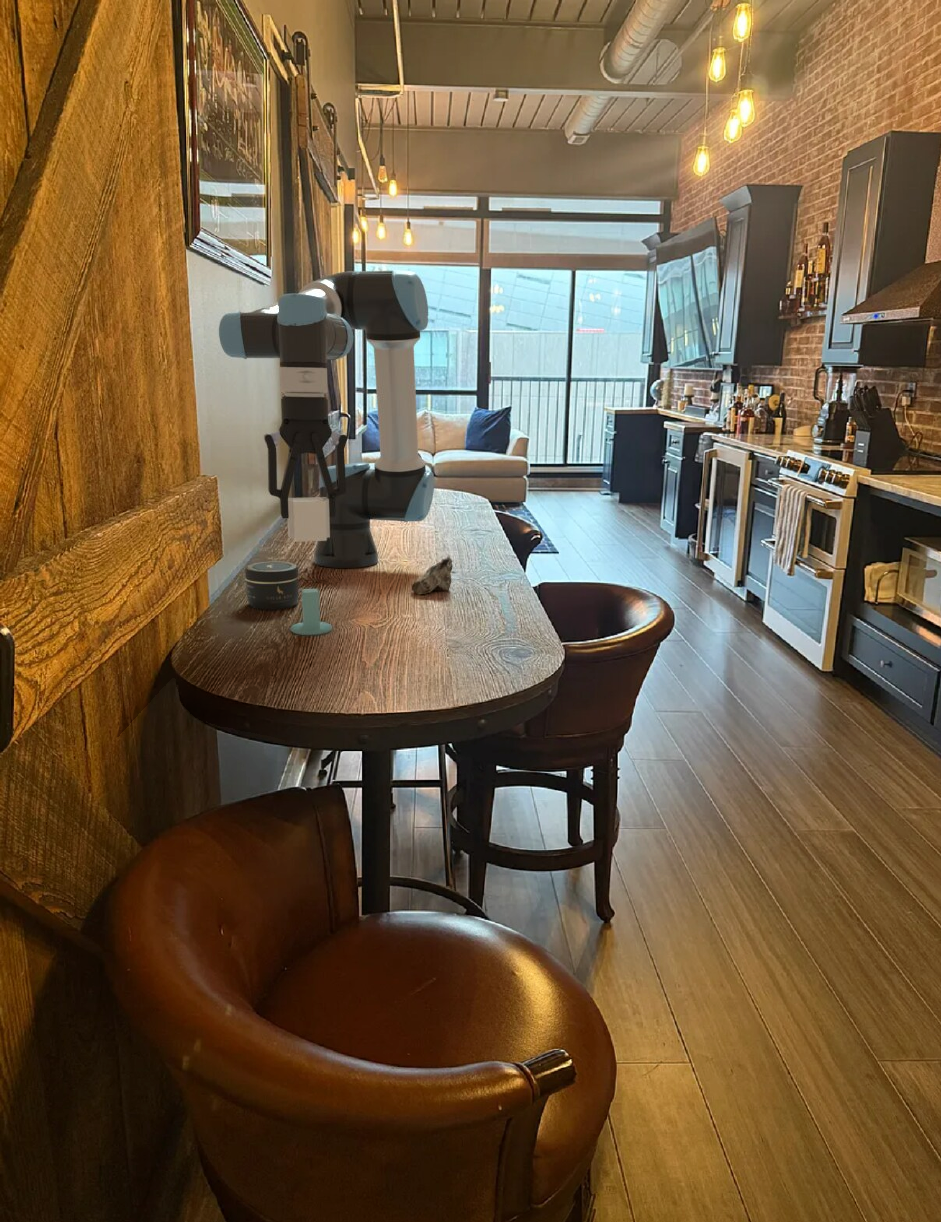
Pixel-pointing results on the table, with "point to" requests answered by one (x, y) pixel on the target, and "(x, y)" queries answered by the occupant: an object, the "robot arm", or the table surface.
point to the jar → (272, 585)
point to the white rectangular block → (309, 519)
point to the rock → (435, 578)
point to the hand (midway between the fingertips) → (308, 536)
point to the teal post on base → (311, 615)
